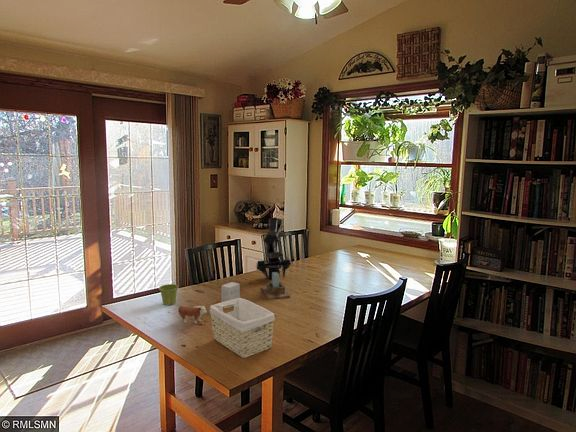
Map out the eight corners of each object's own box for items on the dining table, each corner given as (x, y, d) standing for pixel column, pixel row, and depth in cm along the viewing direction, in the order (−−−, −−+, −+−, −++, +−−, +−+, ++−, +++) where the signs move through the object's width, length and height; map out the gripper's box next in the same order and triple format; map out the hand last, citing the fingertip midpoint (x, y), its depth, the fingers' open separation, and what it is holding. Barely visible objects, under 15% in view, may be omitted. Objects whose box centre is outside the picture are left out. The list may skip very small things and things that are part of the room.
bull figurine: (205, 325, 178) (205, 307, 177) (177, 323, 180) (176, 305, 179) (209, 321, 182) (209, 304, 181) (181, 319, 184) (181, 302, 183)
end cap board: (268, 299, 212) (268, 290, 211) (261, 288, 229) (261, 280, 228) (290, 297, 215) (290, 289, 214) (282, 287, 232) (282, 279, 231)
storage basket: (276, 348, 157) (276, 312, 155) (242, 362, 146) (242, 323, 144) (241, 329, 175) (241, 296, 173) (208, 339, 164) (207, 305, 162)
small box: (232, 301, 208) (231, 281, 207) (240, 303, 205) (240, 283, 204) (221, 305, 202) (220, 285, 200) (229, 308, 199) (229, 287, 197)
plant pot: (171, 307, 198) (170, 290, 197) (155, 305, 201) (155, 288, 200) (182, 301, 207) (182, 285, 205) (167, 299, 210) (166, 283, 209)
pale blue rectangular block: (273, 292, 219) (273, 274, 218) (271, 289, 224) (272, 272, 222) (279, 292, 220) (279, 274, 218) (277, 289, 224) (277, 272, 223)
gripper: (257, 246, 221) (260, 271, 212) (290, 245, 225) (295, 269, 216) (254, 257, 230) (258, 281, 220) (286, 255, 234) (291, 279, 225)
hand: (275, 277), depth 220 cm, fingers open, 9 cm apart
